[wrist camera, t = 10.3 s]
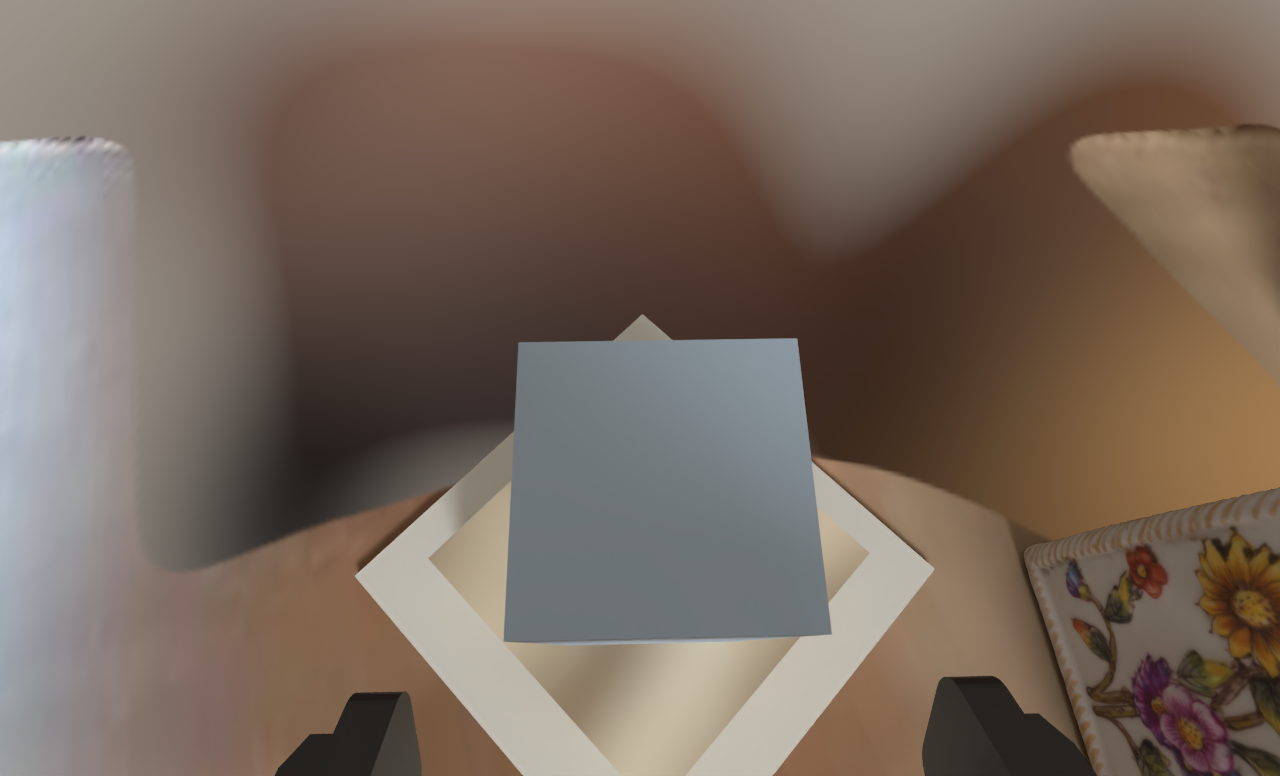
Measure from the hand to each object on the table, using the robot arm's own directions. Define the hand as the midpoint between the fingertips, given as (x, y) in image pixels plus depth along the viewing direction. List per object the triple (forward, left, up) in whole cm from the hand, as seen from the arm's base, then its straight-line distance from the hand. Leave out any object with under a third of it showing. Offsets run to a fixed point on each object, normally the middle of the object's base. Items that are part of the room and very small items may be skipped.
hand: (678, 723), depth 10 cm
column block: (-3, +2, -11) cm, 11 cm away
